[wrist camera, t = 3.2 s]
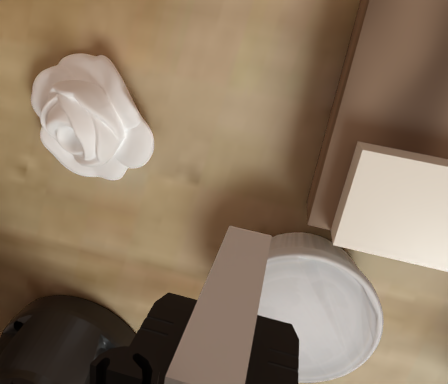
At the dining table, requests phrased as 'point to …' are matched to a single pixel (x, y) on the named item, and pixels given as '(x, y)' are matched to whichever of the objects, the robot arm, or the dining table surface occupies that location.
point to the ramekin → (321, 304)
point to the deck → (385, 94)
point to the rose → (90, 118)
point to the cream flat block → (395, 206)
